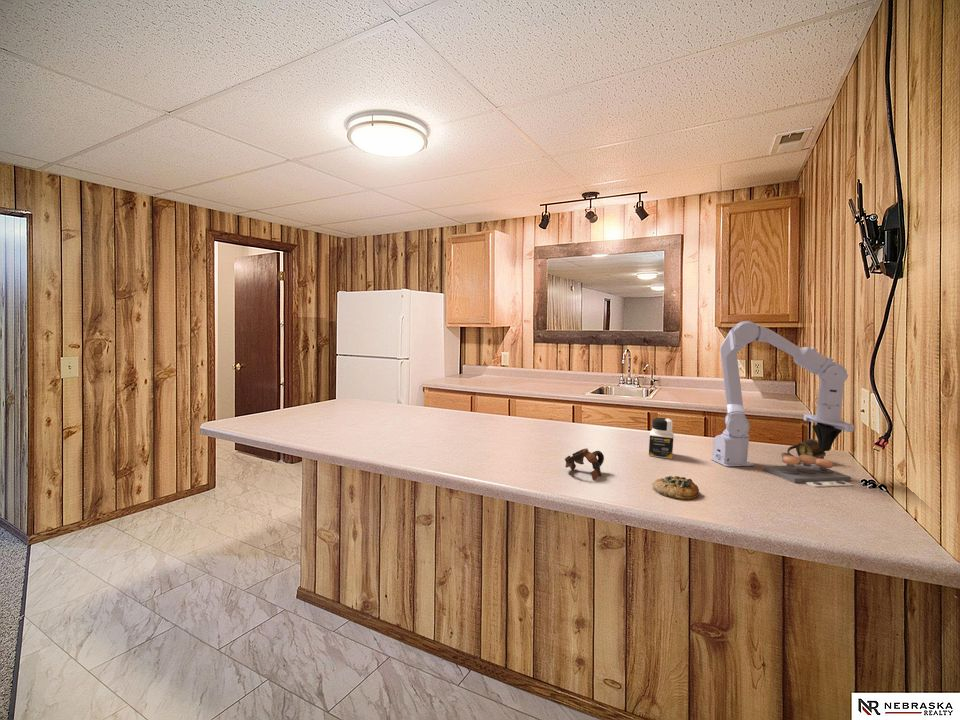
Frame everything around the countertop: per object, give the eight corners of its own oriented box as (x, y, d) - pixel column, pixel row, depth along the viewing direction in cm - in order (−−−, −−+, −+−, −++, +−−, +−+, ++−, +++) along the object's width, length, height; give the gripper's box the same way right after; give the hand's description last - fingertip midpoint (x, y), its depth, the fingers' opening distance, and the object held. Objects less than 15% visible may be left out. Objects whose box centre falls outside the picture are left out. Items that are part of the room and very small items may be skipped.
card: (814, 487, 129) (814, 485, 128) (805, 483, 131) (805, 481, 131) (852, 485, 130) (852, 483, 130) (842, 481, 133) (842, 480, 133)
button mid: (806, 467, 136) (807, 459, 136) (795, 463, 140) (796, 454, 139) (819, 467, 136) (819, 458, 136) (807, 463, 140) (808, 454, 140)
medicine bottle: (648, 456, 154) (650, 419, 153) (649, 450, 160) (651, 415, 159) (672, 459, 151) (674, 422, 150) (672, 453, 158) (674, 417, 156)
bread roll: (694, 486, 126) (695, 469, 125) (703, 508, 116) (704, 489, 115) (650, 483, 129) (650, 466, 128) (654, 504, 118) (655, 486, 117)
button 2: (823, 471, 137) (824, 462, 137) (811, 467, 141) (812, 458, 140) (835, 471, 137) (836, 462, 137) (823, 466, 141) (823, 458, 141)
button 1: (789, 468, 135) (790, 459, 135) (778, 464, 139) (779, 455, 139) (802, 468, 136) (803, 459, 135) (790, 463, 139) (791, 455, 139)
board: (794, 482, 131) (794, 477, 131) (764, 470, 142) (764, 465, 142) (850, 480, 134) (850, 475, 134) (816, 468, 145) (817, 463, 145)
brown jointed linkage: (589, 484, 127) (574, 456, 128) (568, 489, 135) (555, 462, 136) (617, 466, 134) (603, 439, 135) (596, 472, 141) (583, 446, 143)
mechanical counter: (836, 450, 146) (819, 436, 156) (792, 444, 148) (778, 430, 157) (829, 471, 148) (812, 455, 158) (785, 464, 150) (772, 449, 159)
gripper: (865, 409, 131) (859, 457, 132) (819, 399, 145) (815, 443, 146) (843, 409, 130) (837, 458, 131) (799, 399, 144) (795, 443, 145)
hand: (824, 450), depth 139 cm, fingers closed
